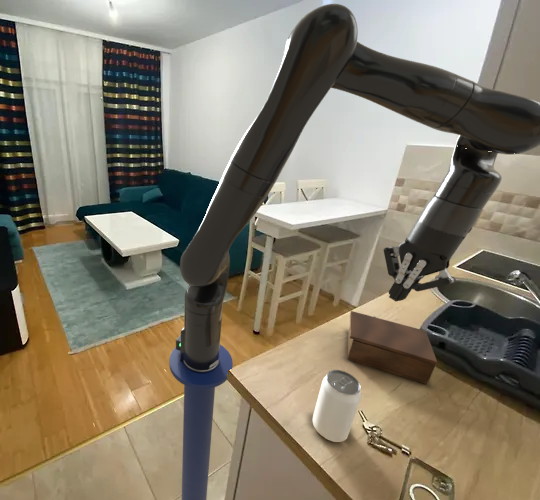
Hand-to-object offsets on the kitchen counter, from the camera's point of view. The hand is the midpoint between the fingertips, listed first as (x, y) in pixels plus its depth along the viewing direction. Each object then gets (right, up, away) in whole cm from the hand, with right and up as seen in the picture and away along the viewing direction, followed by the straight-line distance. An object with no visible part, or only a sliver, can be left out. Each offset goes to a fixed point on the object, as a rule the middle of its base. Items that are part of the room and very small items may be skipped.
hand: (394, 298), depth 61 cm
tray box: (+8, -17, +15) cm, 24 cm away
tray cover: (+8, -12, +13) cm, 19 cm away
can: (-16, -25, -4) cm, 30 cm away
